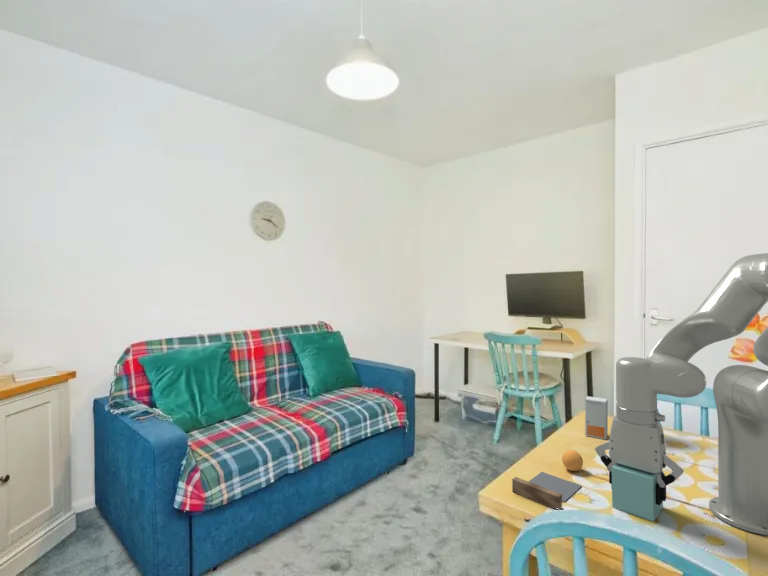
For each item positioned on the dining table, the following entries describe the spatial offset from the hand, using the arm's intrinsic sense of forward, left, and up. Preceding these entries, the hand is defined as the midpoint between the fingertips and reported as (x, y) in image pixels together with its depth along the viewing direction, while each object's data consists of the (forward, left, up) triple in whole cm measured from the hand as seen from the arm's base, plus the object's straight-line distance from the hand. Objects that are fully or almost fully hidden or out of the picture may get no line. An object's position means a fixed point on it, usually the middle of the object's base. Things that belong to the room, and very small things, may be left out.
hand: (636, 494), depth 87 cm
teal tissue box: (0, 0, -3) cm, 3 cm away
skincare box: (+21, -37, -3) cm, 43 cm away
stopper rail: (+17, +12, -3) cm, 21 cm away
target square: (+17, +4, -3) cm, 18 cm away
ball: (+17, -8, 0) cm, 19 cm away
